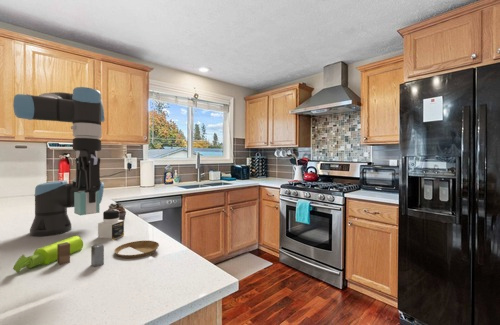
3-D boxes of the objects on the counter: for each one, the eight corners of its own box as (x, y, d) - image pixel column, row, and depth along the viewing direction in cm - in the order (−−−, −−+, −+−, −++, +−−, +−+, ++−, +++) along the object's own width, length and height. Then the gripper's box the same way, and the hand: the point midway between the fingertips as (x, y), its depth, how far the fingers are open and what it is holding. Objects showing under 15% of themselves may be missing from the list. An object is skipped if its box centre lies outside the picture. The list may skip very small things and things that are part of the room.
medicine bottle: (112, 241, 102) (112, 212, 102) (97, 239, 103) (97, 211, 103) (124, 235, 109) (124, 209, 109) (110, 234, 110) (110, 208, 110)
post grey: (91, 267, 77) (91, 245, 77) (100, 264, 79) (100, 243, 79) (94, 270, 75) (94, 247, 75) (103, 267, 77) (103, 245, 77)
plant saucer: (113, 266, 79) (113, 258, 79) (115, 250, 92) (115, 243, 92) (161, 257, 86) (161, 250, 86) (156, 244, 99) (156, 238, 99)
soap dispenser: (87, 240, 89) (30, 263, 69) (77, 254, 90) (18, 281, 70) (76, 230, 90) (16, 250, 70) (66, 244, 91) (4, 268, 71)
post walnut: (57, 265, 78) (57, 244, 78) (67, 263, 80) (67, 241, 80) (60, 268, 76) (60, 245, 76) (70, 265, 79) (70, 243, 78)
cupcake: (129, 221, 134) (129, 203, 134) (111, 224, 126) (112, 205, 126) (120, 218, 139) (120, 201, 139) (102, 222, 131) (102, 203, 131)
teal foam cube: (74, 213, 76) (74, 192, 76) (93, 210, 80) (93, 190, 80) (80, 215, 73) (80, 193, 73) (99, 212, 77) (99, 191, 77)
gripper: (63, 139, 79) (63, 210, 79) (84, 135, 68) (84, 218, 68) (89, 140, 85) (89, 207, 85) (112, 137, 74) (112, 213, 74)
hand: (87, 211), depth 77 cm, fingers closed on teal foam cube, 5 cm apart
